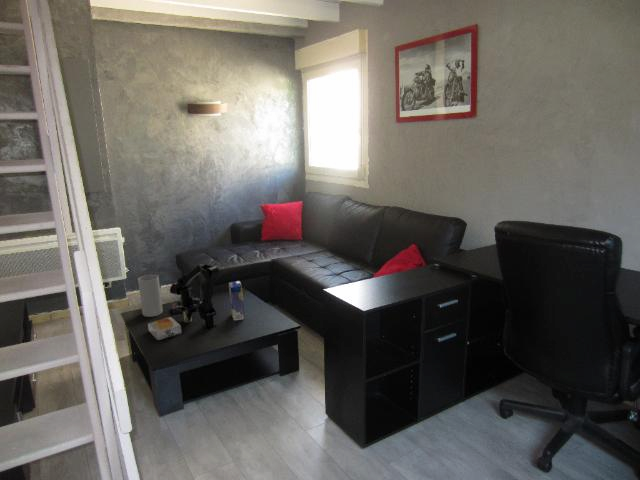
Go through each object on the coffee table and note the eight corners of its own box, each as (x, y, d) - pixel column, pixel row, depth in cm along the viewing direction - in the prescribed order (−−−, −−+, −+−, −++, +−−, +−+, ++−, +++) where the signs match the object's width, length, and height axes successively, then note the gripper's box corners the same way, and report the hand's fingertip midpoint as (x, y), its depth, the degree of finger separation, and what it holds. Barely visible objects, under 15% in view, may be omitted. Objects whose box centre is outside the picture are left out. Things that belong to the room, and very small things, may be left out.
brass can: (193, 321, 283) (192, 310, 281) (186, 323, 280) (185, 312, 278) (190, 318, 286) (189, 308, 285) (183, 321, 283) (182, 310, 282)
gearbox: (183, 334, 264) (182, 323, 262) (159, 342, 256) (158, 330, 254) (171, 324, 279) (170, 314, 277) (148, 331, 270) (147, 320, 269)
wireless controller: (174, 315, 293) (171, 290, 289) (172, 308, 306) (169, 284, 302) (205, 310, 301) (202, 286, 296) (202, 303, 313) (199, 280, 309)
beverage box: (241, 312, 294) (239, 280, 288) (244, 319, 284) (242, 286, 278) (231, 314, 292) (228, 282, 286) (233, 320, 281) (230, 287, 276)
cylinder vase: (156, 317, 290) (151, 281, 284) (138, 316, 292) (133, 280, 286) (166, 310, 301) (162, 275, 295) (149, 309, 304) (145, 274, 298)
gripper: (204, 296, 277) (206, 320, 280) (191, 289, 291) (194, 311, 295) (186, 301, 270) (189, 325, 274) (175, 293, 284) (177, 316, 288)
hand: (188, 319), depth 283 cm, fingers closed on brass can, 5 cm apart
